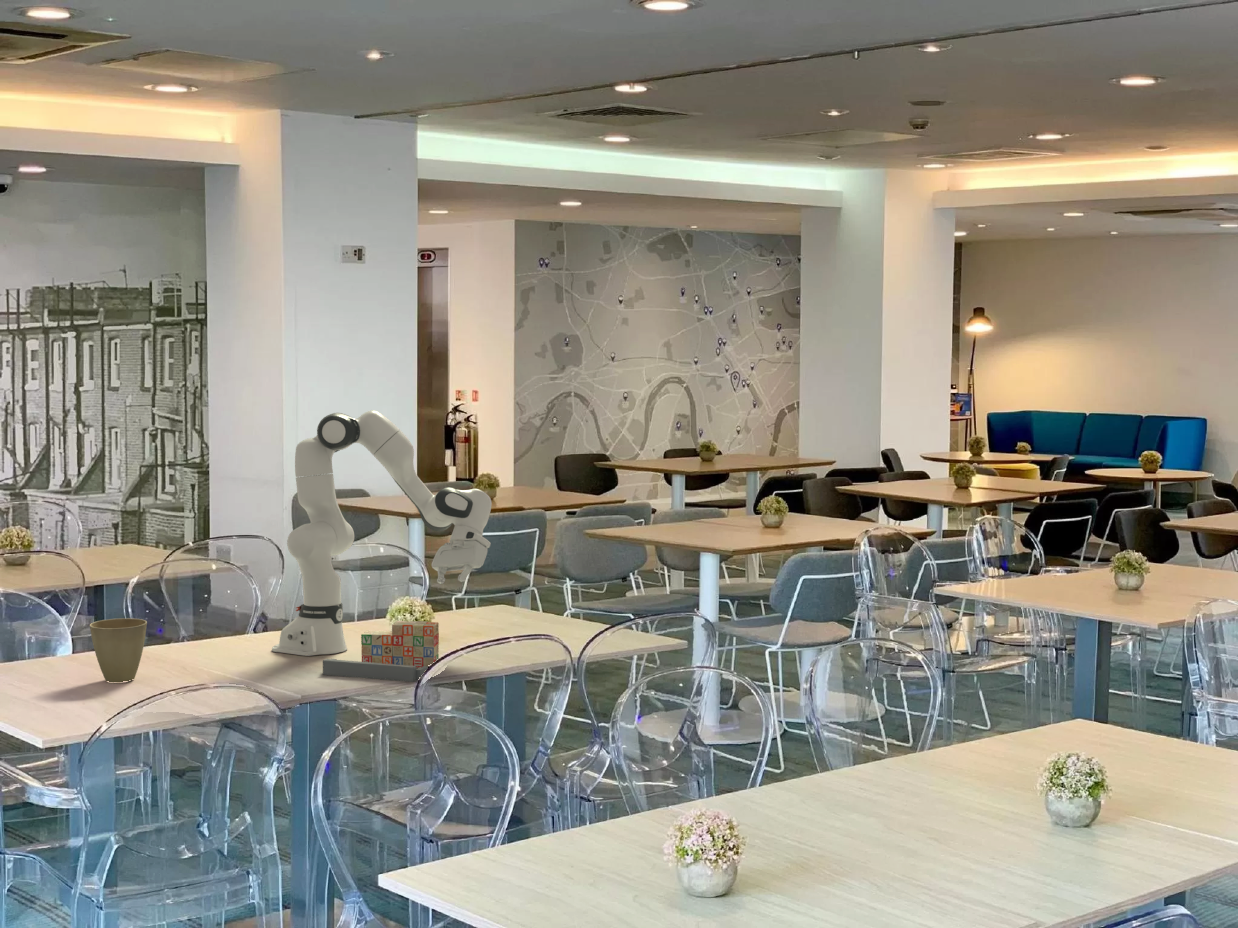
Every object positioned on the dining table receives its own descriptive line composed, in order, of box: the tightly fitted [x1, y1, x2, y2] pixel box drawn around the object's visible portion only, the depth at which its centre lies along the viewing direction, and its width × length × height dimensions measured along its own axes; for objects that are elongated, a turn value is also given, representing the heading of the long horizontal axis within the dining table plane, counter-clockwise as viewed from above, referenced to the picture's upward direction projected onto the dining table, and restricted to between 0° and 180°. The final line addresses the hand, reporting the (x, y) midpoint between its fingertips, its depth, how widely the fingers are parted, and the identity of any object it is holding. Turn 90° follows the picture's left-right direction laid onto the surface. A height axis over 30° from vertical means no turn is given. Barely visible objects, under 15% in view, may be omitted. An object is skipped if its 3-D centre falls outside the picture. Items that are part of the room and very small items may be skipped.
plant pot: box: [89, 617, 148, 682], centre depth 421 cm, size 15×15×16 cm
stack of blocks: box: [360, 620, 440, 668], centre depth 443 cm, size 21×6×12 cm, turn 83°
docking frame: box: [322, 658, 429, 683], centre depth 428 cm, size 30×7×4 cm, turn 70°
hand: (450, 581), depth 457 cm, fingers open, 8 cm apart
